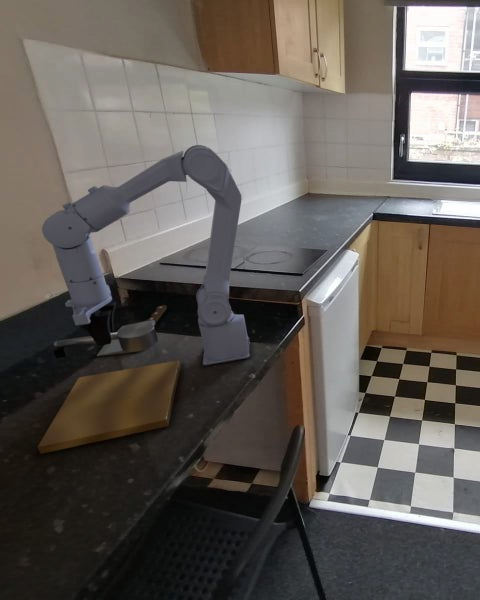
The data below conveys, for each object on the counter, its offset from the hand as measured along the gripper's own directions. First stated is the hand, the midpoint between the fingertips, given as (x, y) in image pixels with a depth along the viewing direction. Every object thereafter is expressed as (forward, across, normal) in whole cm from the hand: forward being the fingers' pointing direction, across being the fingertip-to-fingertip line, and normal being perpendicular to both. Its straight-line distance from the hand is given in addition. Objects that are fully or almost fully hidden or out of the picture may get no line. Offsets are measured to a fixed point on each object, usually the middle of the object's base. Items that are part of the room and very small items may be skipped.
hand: (106, 341), depth 79 cm
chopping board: (+8, +10, +3) cm, 13 cm away
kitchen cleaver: (+9, -22, 0) cm, 24 cm away
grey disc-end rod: (+2, 0, 0) cm, 2 cm away
